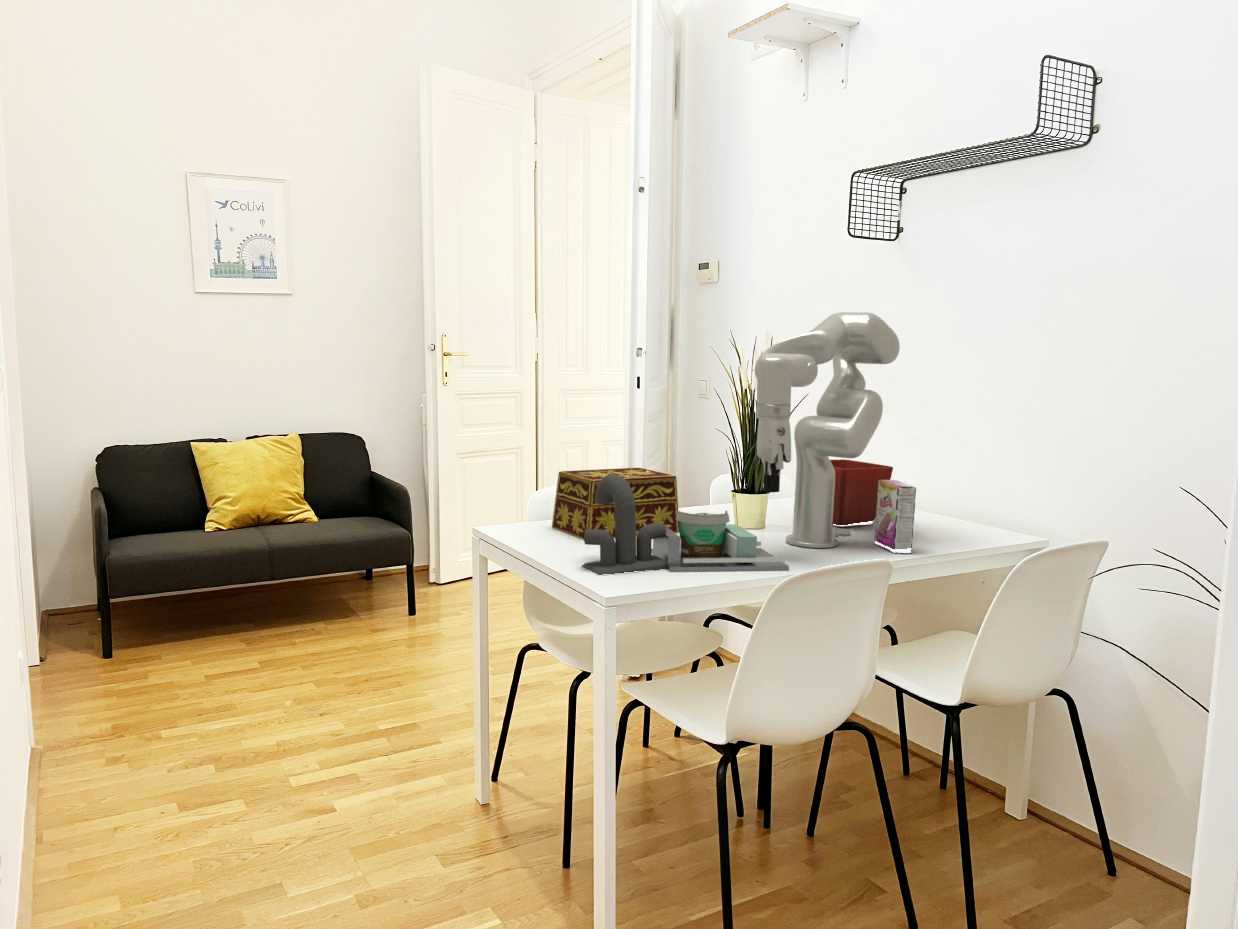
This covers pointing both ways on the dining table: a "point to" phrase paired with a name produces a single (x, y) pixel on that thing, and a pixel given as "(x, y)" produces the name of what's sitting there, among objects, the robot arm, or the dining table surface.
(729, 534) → the block
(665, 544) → the vise bed
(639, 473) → the decorative box
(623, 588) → the dining table surface
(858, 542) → the dining table surface
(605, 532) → the faucet
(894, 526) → the candy bar box
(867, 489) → the plant pot
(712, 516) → the food container
